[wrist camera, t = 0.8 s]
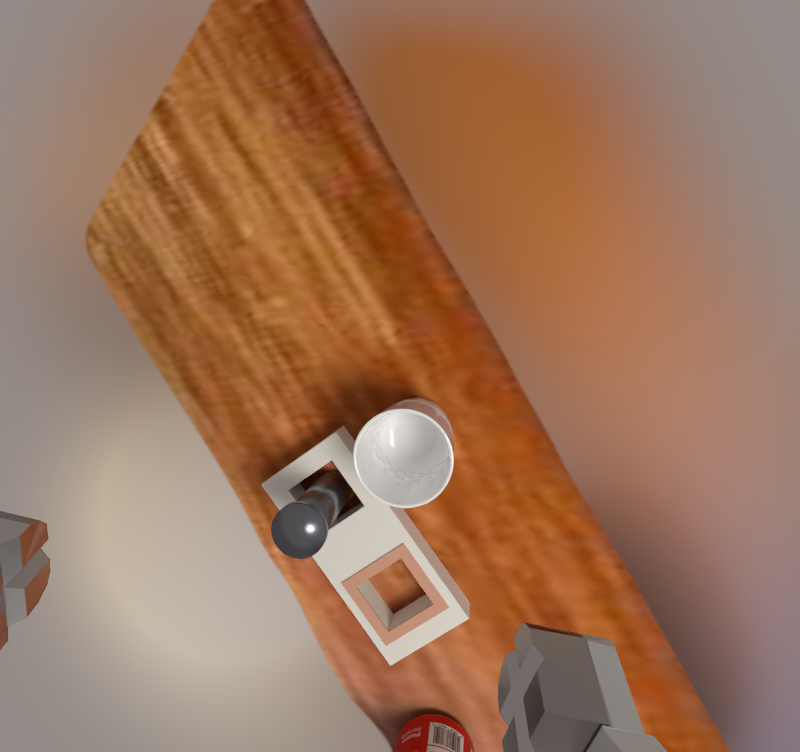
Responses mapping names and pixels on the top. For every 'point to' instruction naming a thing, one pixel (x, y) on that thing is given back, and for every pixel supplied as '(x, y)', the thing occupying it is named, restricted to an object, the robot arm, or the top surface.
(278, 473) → the dock board
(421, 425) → the white cup
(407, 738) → the soda can
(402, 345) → the top surface
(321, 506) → the pin
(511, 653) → the robot arm
